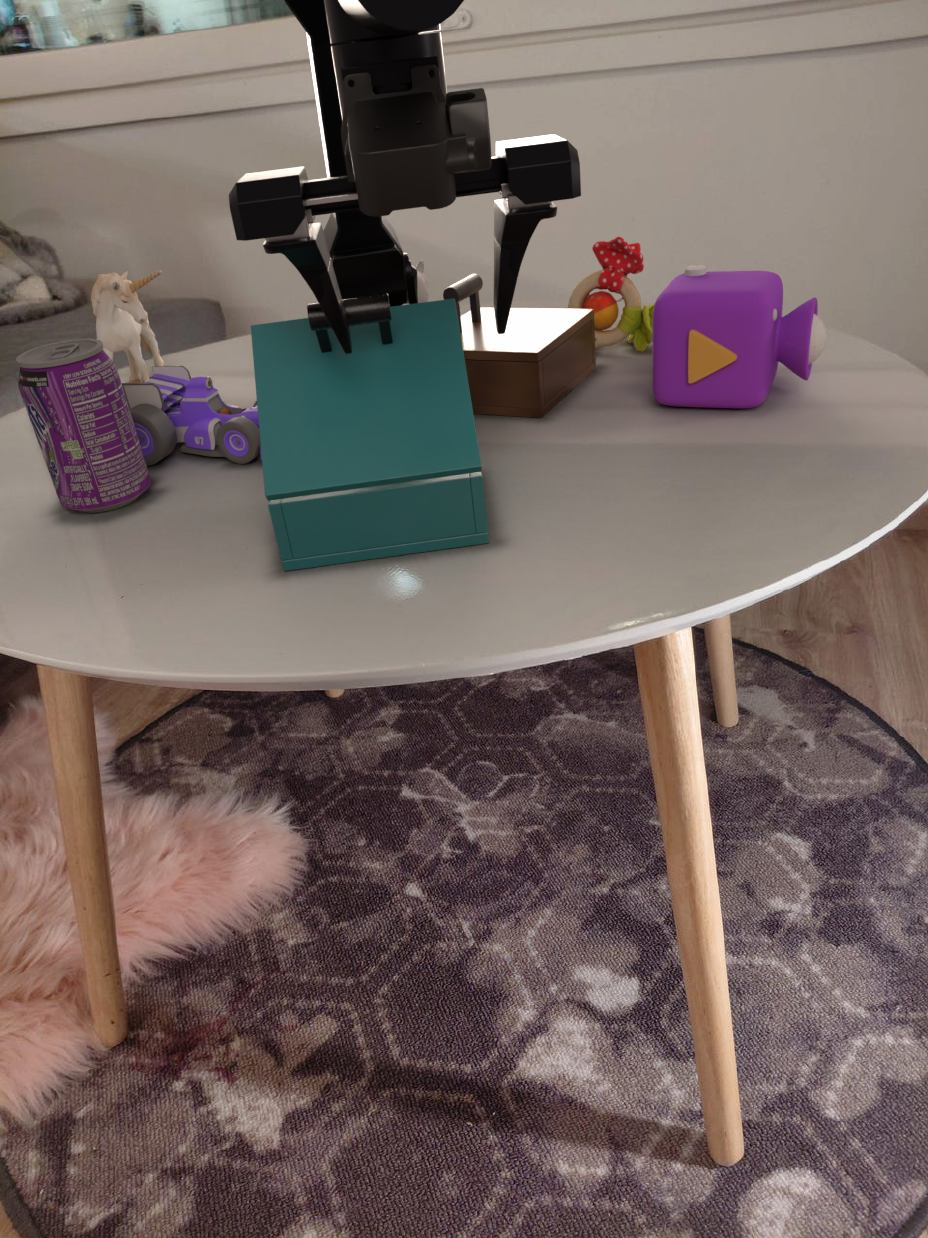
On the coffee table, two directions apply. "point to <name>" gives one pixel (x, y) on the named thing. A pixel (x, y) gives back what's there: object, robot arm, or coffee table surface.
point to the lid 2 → (511, 327)
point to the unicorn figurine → (124, 321)
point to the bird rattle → (616, 266)
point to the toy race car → (190, 418)
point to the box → (532, 378)
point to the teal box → (380, 521)
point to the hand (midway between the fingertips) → (424, 342)
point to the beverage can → (83, 425)
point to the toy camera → (728, 338)
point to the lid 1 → (363, 399)
